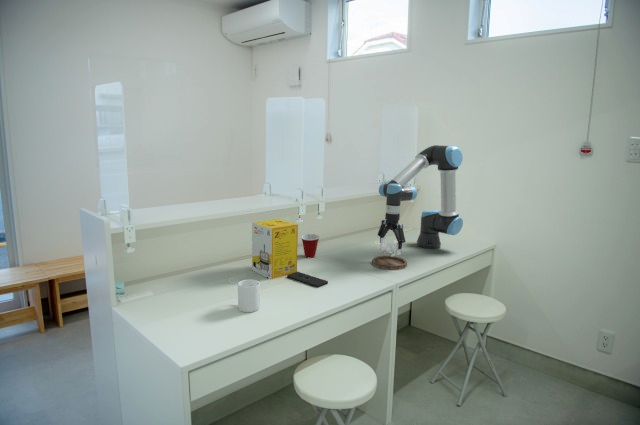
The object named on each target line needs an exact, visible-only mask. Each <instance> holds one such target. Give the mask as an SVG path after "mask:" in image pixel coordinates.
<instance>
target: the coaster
mask: <svg viewBox="0 0 640 425" xmlns="http://www.w3.org/2000/svg"><path fill="white" fill-rule="evenodd" d="M371 263H372V265H373V266H374V267H377V268H379V269H381V270H382V269H384V270H389V271H390V270H391V271H393V270H396V271H399V270H403V269H406V268H407V267H408V261H407V260H406V259H404V258H403V257H399V256H393V257H391V255H379V256H374V257H373V258H372V260H371Z"/></svg>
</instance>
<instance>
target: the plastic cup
mask: <svg viewBox="0 0 640 425" xmlns="http://www.w3.org/2000/svg"><path fill="white" fill-rule="evenodd" d="M300 238H301V241H302V242H301V243H302V247H303V254H304V257H305V256H306V257H305V258H308V257H309V259H311V258H315V257H316V253H317V248H318V244H319V239H320V235H318V234H316V233H307V234H303V235H300ZM310 257H311V258H310Z"/></svg>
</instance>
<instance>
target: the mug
mask: <svg viewBox="0 0 640 425" xmlns="http://www.w3.org/2000/svg"><path fill="white" fill-rule="evenodd" d="M237 306H238V307H237V308H238V310H239V311H240V312H243V313H255V312H257V311H259V309H260V306H261V282H260V281H259V280H257V279H243V280H241V281H239V282H237Z"/></svg>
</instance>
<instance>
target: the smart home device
mask: <svg viewBox="0 0 640 425" xmlns="http://www.w3.org/2000/svg"><path fill="white" fill-rule="evenodd" d="M286 278H287V279H289V280H292V281H296V282H298V283H302V284H305V285H308V286H310V287H314V288H321V287H324V286H326V285H328V284H329V281H328V280H326V279H322V278H319V277H316V276H314V275H310V274H307V273H303V272H300V271H297V272H295V273H292V274H289V275H286Z"/></svg>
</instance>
